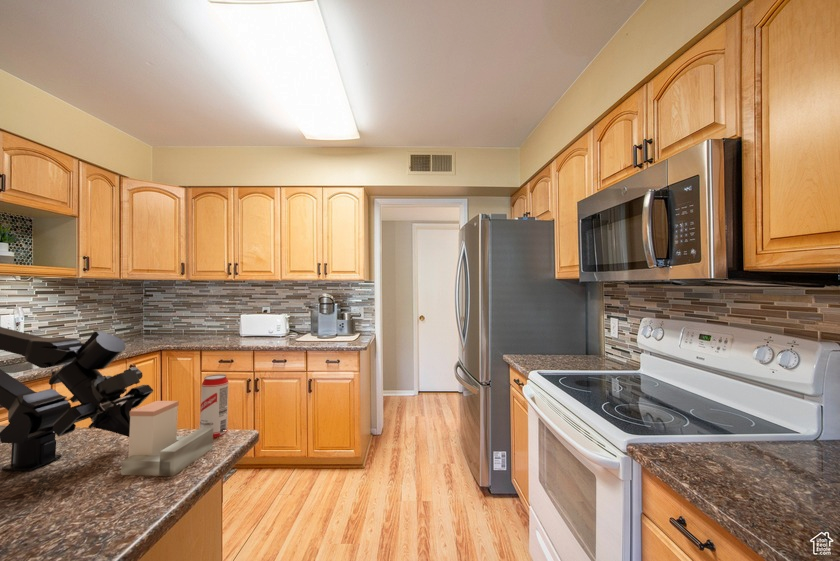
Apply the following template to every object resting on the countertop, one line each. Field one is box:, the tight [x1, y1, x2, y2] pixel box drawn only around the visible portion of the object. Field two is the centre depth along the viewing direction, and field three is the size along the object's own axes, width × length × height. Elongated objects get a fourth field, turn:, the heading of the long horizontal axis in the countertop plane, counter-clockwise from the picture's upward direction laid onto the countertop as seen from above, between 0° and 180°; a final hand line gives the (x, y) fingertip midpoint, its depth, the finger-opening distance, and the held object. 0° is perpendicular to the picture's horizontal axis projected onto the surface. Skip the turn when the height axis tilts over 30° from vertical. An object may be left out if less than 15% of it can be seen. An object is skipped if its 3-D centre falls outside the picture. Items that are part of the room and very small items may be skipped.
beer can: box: [199, 373, 230, 438], centre depth 90 cm, size 6×6×16 cm
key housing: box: [120, 427, 214, 477], centre depth 75 cm, size 16×18×6 cm
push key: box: [127, 400, 180, 458], centre depth 75 cm, size 5×7×12 cm
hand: (133, 435), depth 75 cm, fingers closed
